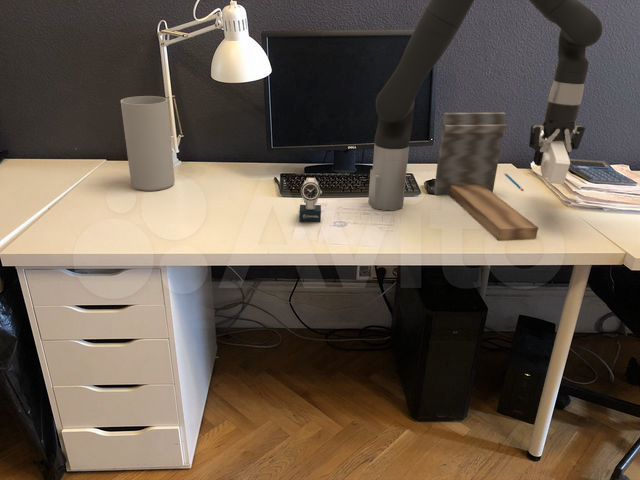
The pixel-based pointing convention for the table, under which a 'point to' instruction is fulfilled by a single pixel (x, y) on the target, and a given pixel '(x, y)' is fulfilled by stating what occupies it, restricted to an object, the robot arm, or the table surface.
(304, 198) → the watch
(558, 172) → the shelf bracket
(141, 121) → the cylinder vase
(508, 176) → the pencil
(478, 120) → the cleat wall board
